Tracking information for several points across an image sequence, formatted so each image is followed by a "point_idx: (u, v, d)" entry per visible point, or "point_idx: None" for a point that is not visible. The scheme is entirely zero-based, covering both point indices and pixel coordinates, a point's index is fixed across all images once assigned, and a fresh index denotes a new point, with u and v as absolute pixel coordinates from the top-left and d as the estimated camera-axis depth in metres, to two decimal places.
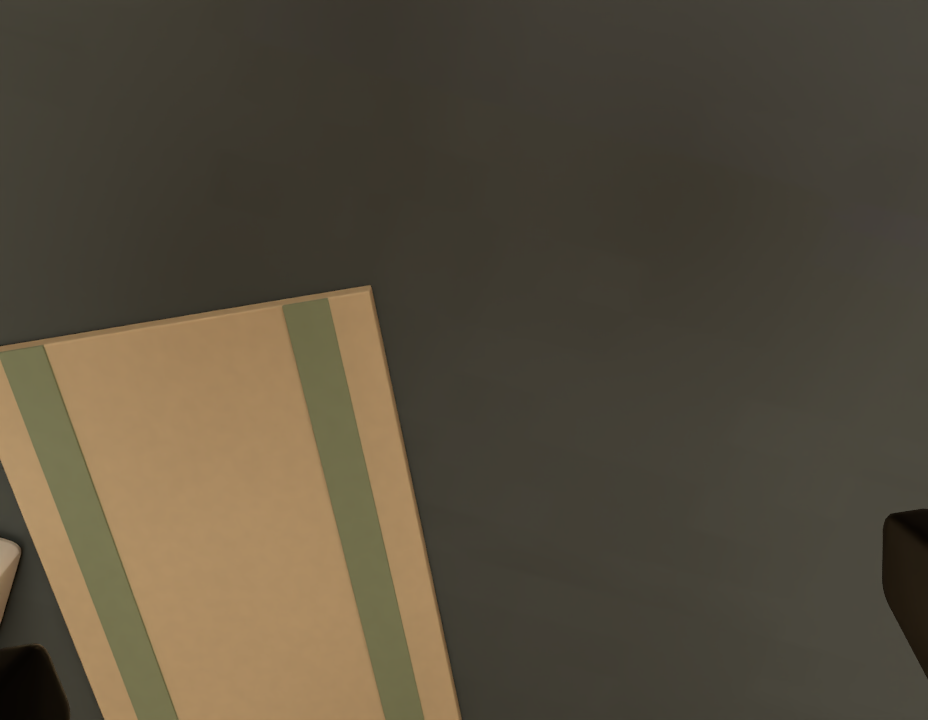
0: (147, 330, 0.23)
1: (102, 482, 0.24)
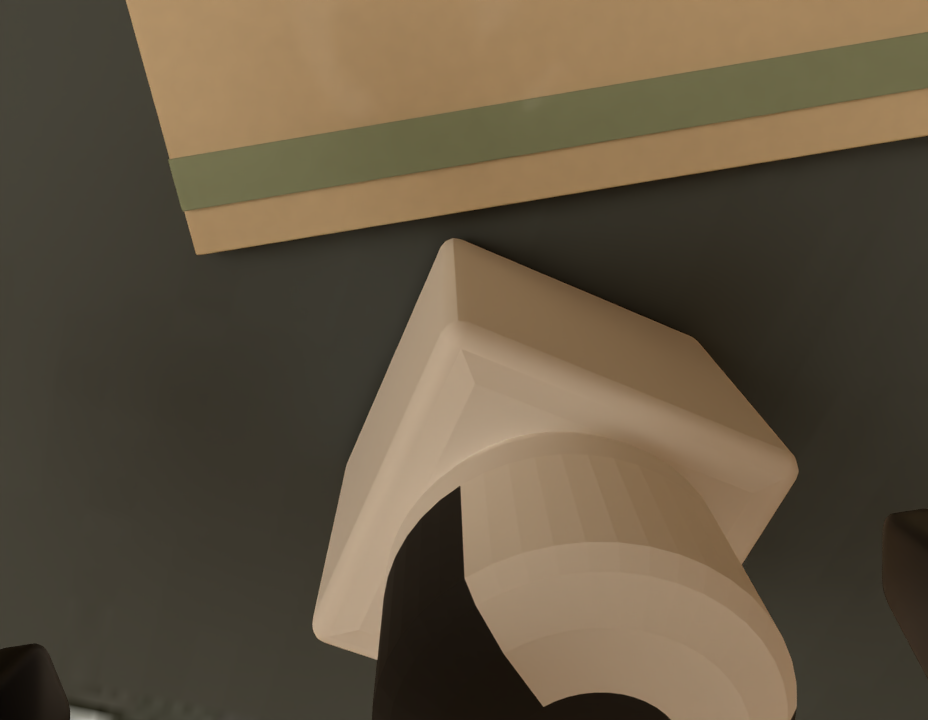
0: (138, 30, 0.19)
1: (347, 118, 0.19)
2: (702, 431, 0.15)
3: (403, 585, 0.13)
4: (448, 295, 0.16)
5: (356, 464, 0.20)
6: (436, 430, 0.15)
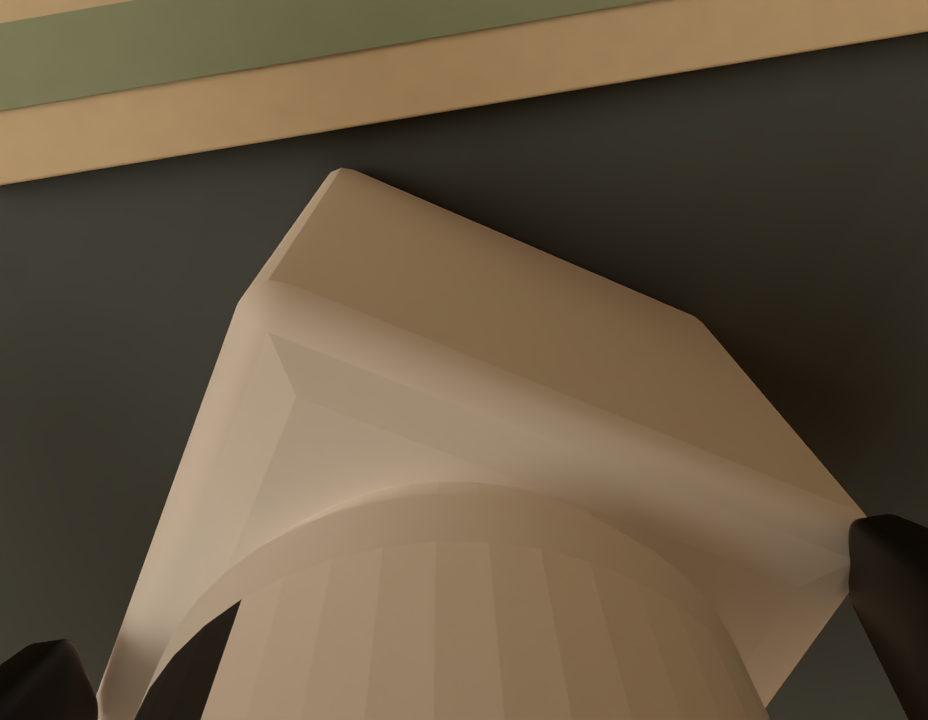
0: None
1: None
2: (712, 480, 0.09)
3: None
4: (283, 241, 0.10)
5: None
6: (234, 477, 0.08)
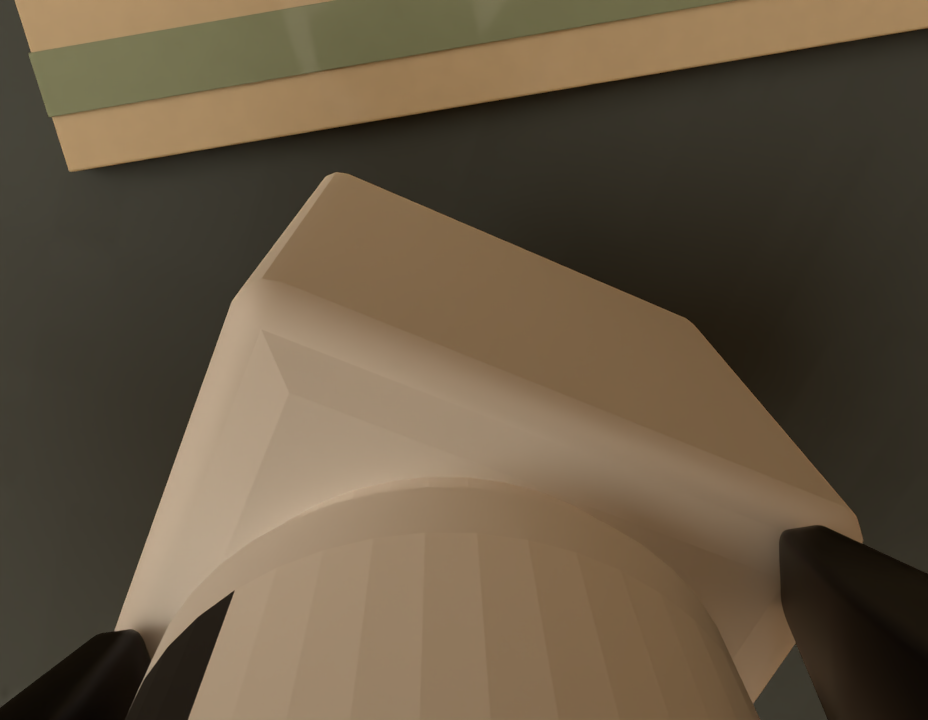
0: None
1: (242, 2, 0.16)
2: (698, 474, 0.09)
3: None
4: (277, 242, 0.10)
5: None
6: (228, 473, 0.08)
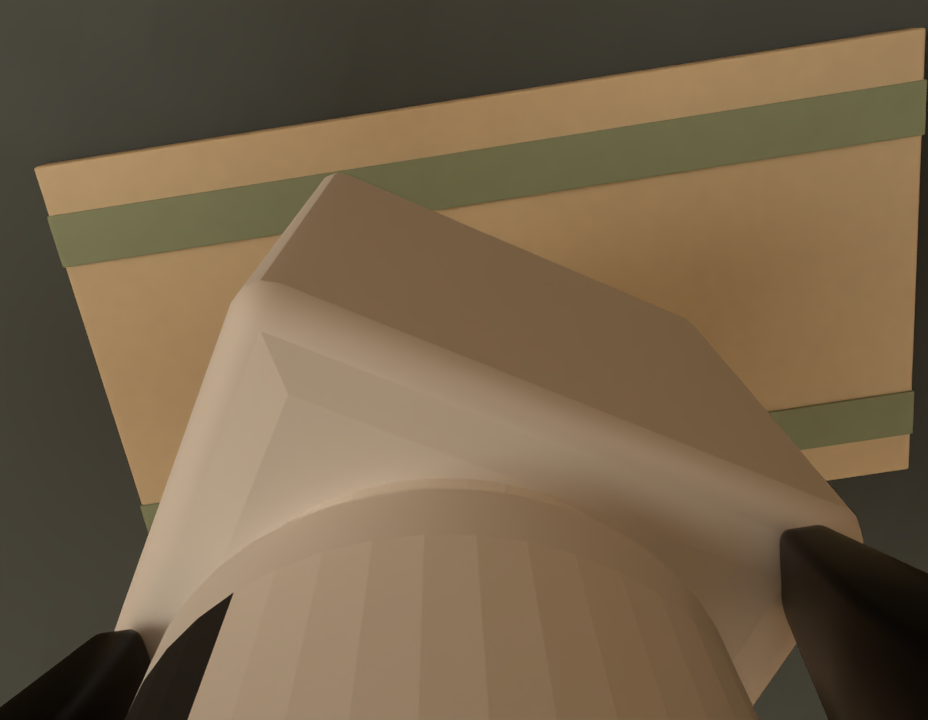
0: (114, 408, 0.21)
1: None
2: (699, 477, 0.09)
3: None
4: (276, 243, 0.10)
5: None
6: (227, 475, 0.08)
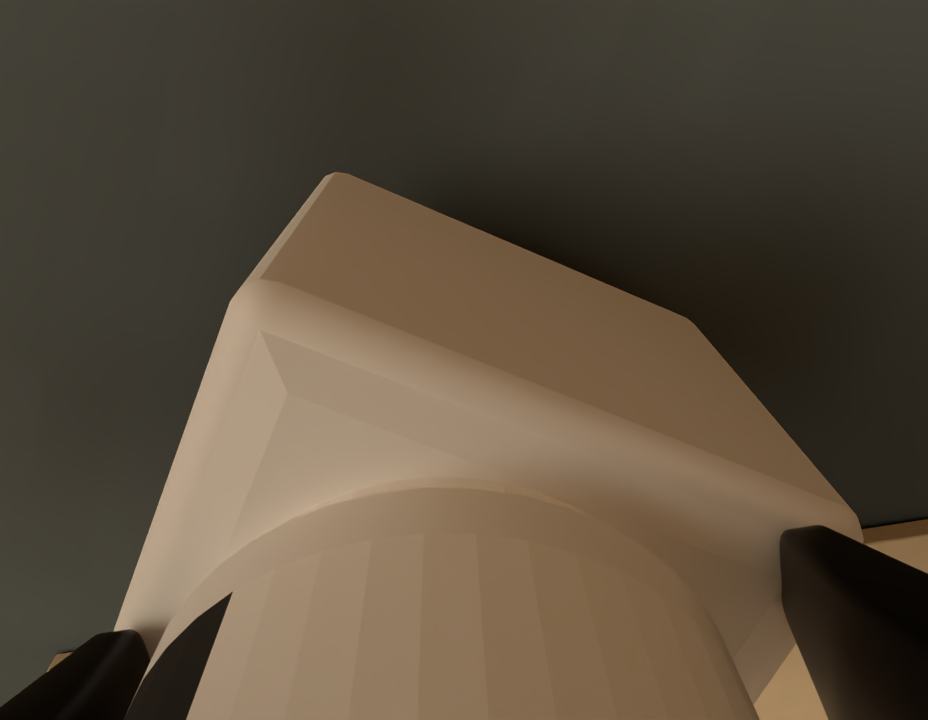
0: None
1: None
2: (698, 475, 0.09)
3: None
4: (276, 242, 0.10)
5: None
6: (226, 474, 0.08)
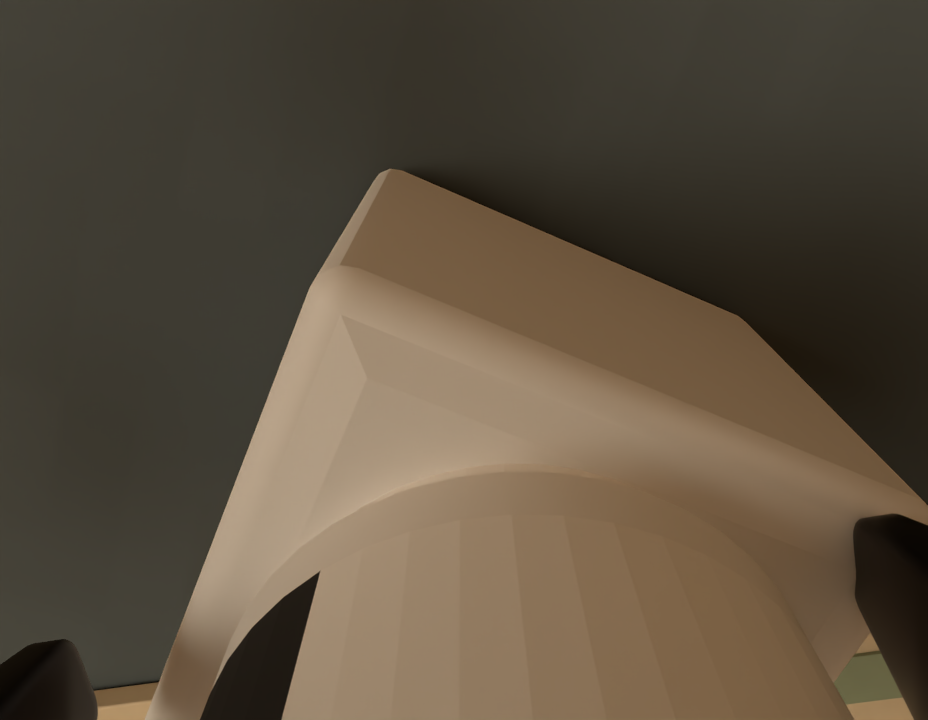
0: None
1: None
2: (773, 464, 0.09)
3: None
4: (346, 233, 0.10)
5: None
6: (304, 459, 0.09)
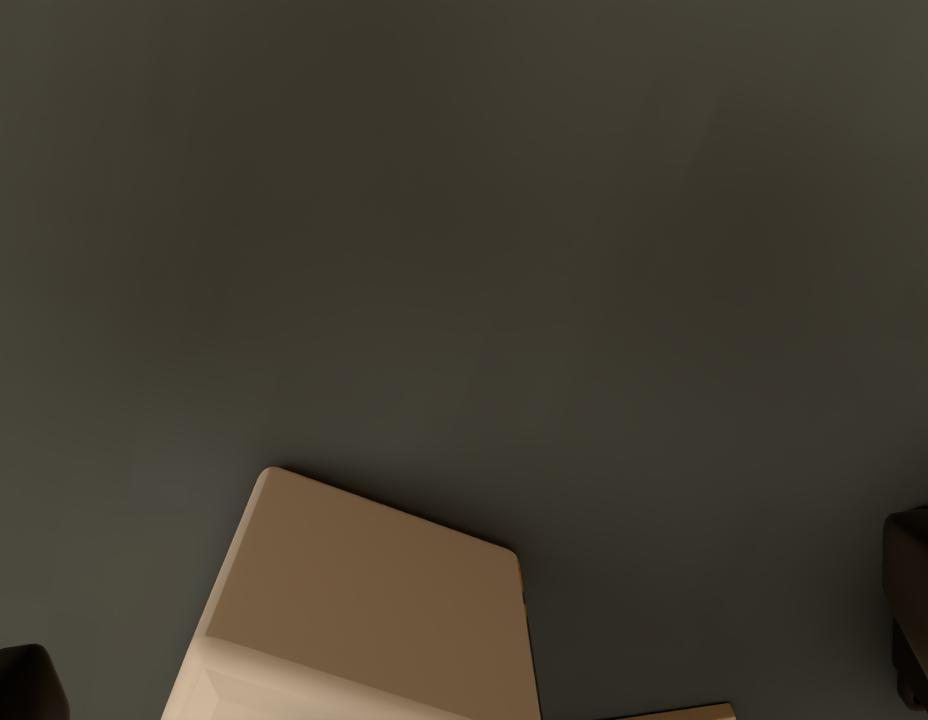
0: None
1: None
2: None
3: None
4: (219, 582, 0.17)
5: None
6: None
